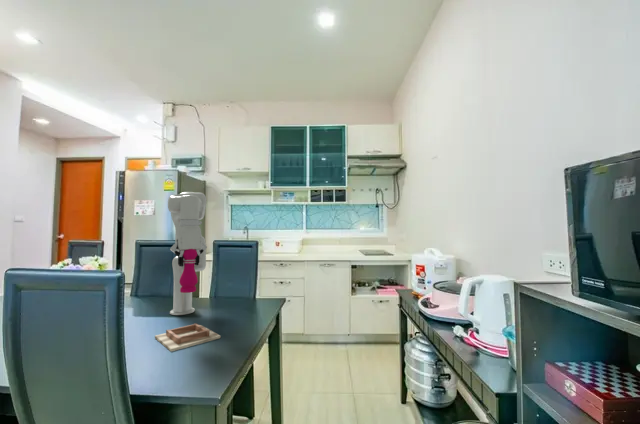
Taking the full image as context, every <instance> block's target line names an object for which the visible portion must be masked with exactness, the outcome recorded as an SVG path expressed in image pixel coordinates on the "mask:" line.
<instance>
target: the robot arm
mask: <svg viewBox="0 0 640 424" xmlns="http://www.w3.org/2000/svg"><path fill="white" fill-rule="evenodd" d="M167 209H168V211H169V212H170V216H171V219H172V222H173V225H174V228H175V240H174V241H175V242H174V243H173V245H172V246H171V247H169V248H170V249H169V250H170V251H171V252H172V253H173V254H174V255H176V256H175V257H174V258H173V259H172V261H171V262H172V263H171V265H172V273H173V275H172V276H173V300H172V301H173V303H172V304H173V306H172V309H171V310H170V311H169V314H170V315H172V316H184V315H190V314H192V313H194V312H195V311H196V310H195V308H194V307H193V304H192V303H193V292H190V293H182V292H180V288H181V287H182V286H181V285H180V283H179V281H180V277H181V275H182V273H183V270H184V263H183V260H184V258H183V257H182V255H183V253H184V250H188V249H195V250H196V251H197V257H196V258H195V264H194V269H195V272H196V273H197V272H202V271H205V269H206V265H207V248H208V246H207V243H206V239H205V237H204V235H203V236H202V229H201V226H200V225H202V224H203V221H201V220H203V219H204V217H205V215H206V209H207V197H206V194H204V192H193V191H183V192H181V193H179V194H171V195H170V196H169V197H168V198H167Z"/></svg>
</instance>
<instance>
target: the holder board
mask: <svg viewBox="0 0 640 424" xmlns="http://www.w3.org/2000/svg"><path fill="white" fill-rule="evenodd" d="M154 339H155V340H156V341H158V342H159V343H160V344H161V345H162V346H164V347H165V348H166V350H168V351H169V352H174V351H175V352H176V351H178V350H182V349H186V348H190V347H193V346H196V345H201V344H204V343H208V342H211V341H215V340H219V339H221V335H220V334H218V333H216V332H215V331H213V330H211V329H210V328H208V327H206V326H204V325H202V324H199V323H193V324H190V325H183V326H179V327H175V328H172V329H166V330H165V333H160V334H155V335H154Z"/></svg>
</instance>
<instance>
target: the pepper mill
mask: <svg viewBox="0 0 640 424" xmlns="http://www.w3.org/2000/svg"><path fill="white" fill-rule="evenodd" d="M182 257H183V258H184V260H183V263H184V270H183V273H182V275H181V277H180V281H179V283H180V285H181V286H182V287H181V288H180V292H182V293H190V292H192V293H194V292H197V286H196V285H197V284H198V282H199V280H198V279H199V278H198V276H197V271H196V272H195V269H194V264H195V258H196V257H197V251H196V250H195V249H188V250H184V253H183V255H182Z"/></svg>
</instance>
